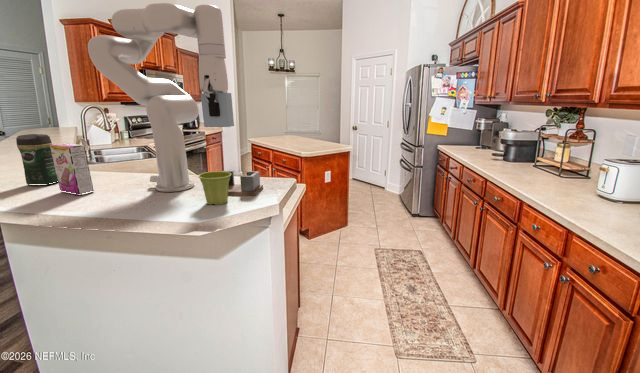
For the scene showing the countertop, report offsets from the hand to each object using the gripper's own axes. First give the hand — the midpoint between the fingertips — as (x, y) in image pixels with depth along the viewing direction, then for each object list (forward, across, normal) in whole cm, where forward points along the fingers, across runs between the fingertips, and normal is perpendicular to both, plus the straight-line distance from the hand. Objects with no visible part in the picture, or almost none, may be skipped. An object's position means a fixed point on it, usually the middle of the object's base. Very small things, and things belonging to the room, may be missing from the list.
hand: (218, 115), depth 101 cm
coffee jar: (+25, -4, -74) cm, 78 cm away
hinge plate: (+26, -4, +2) cm, 26 cm away
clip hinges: (+24, -4, +3) cm, 25 cm away
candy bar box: (+25, +5, -51) cm, 57 cm away
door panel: (+3, 0, 0) cm, 3 cm away
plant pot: (+26, +8, +1) cm, 27 cm away
